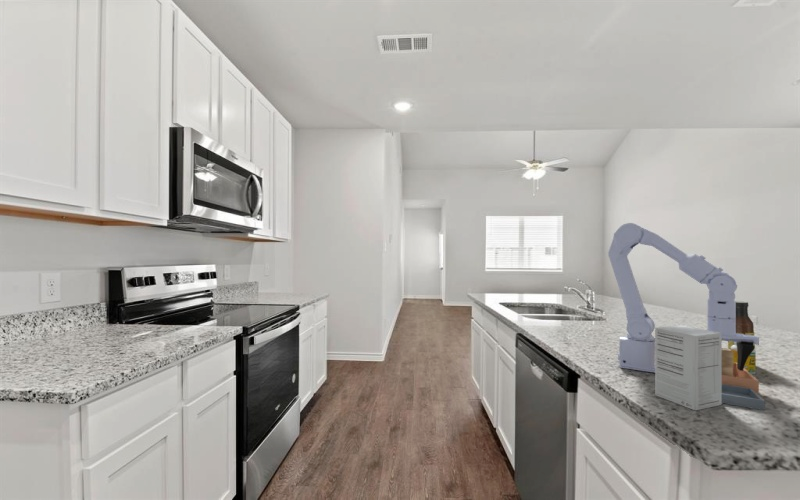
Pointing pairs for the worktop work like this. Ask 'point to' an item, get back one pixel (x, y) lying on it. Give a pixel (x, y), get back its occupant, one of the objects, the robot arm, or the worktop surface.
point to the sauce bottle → (742, 321)
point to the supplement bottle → (751, 360)
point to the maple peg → (727, 362)
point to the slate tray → (742, 397)
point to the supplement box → (688, 366)
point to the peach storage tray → (741, 379)
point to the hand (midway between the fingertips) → (721, 367)
